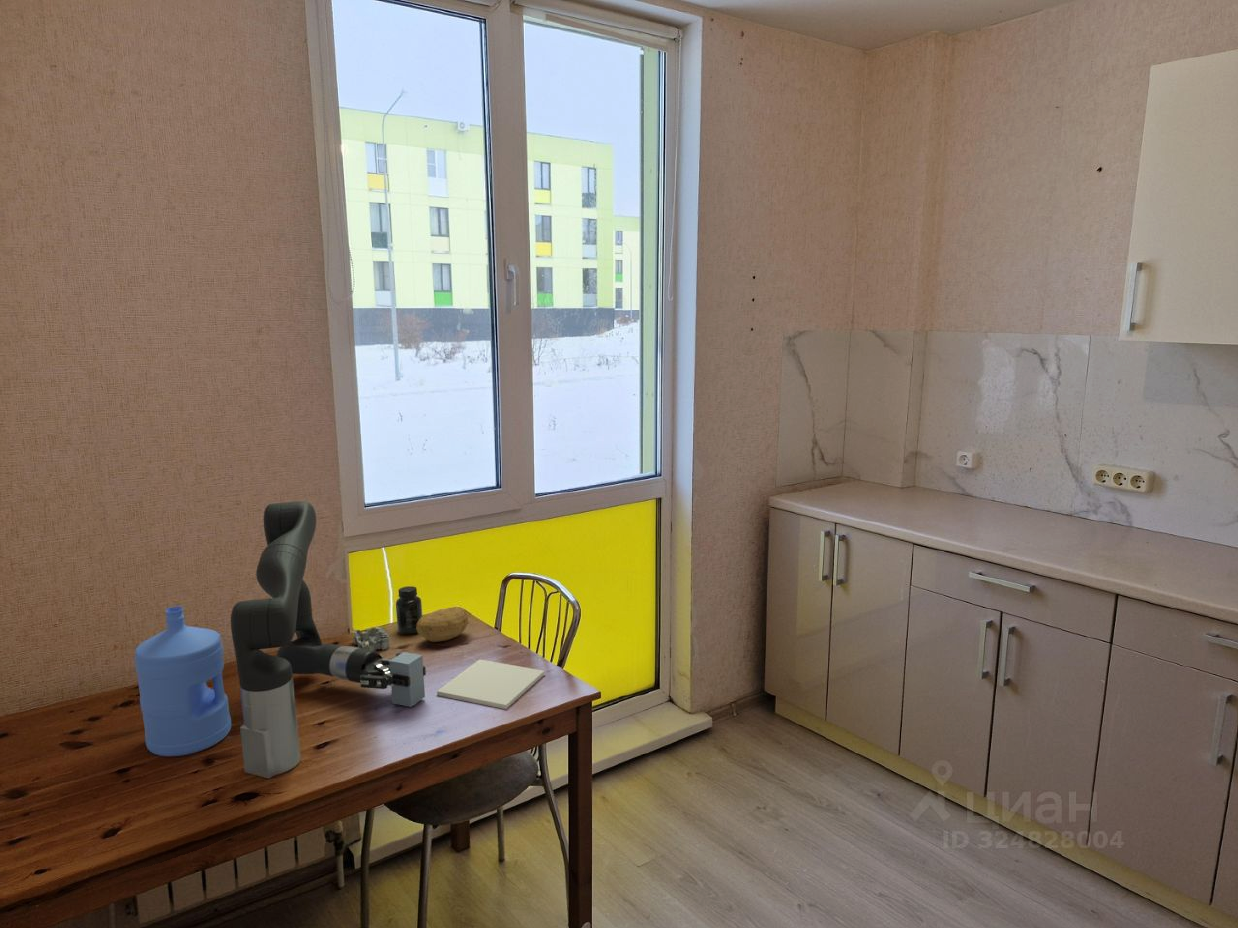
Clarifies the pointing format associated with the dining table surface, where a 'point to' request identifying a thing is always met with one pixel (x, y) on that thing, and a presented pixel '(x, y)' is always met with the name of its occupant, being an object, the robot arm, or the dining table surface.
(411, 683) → the slate block
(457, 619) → the potato
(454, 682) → the cream tile
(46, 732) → the dining table surface
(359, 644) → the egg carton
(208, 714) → the water jug
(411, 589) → the supplement bottle
